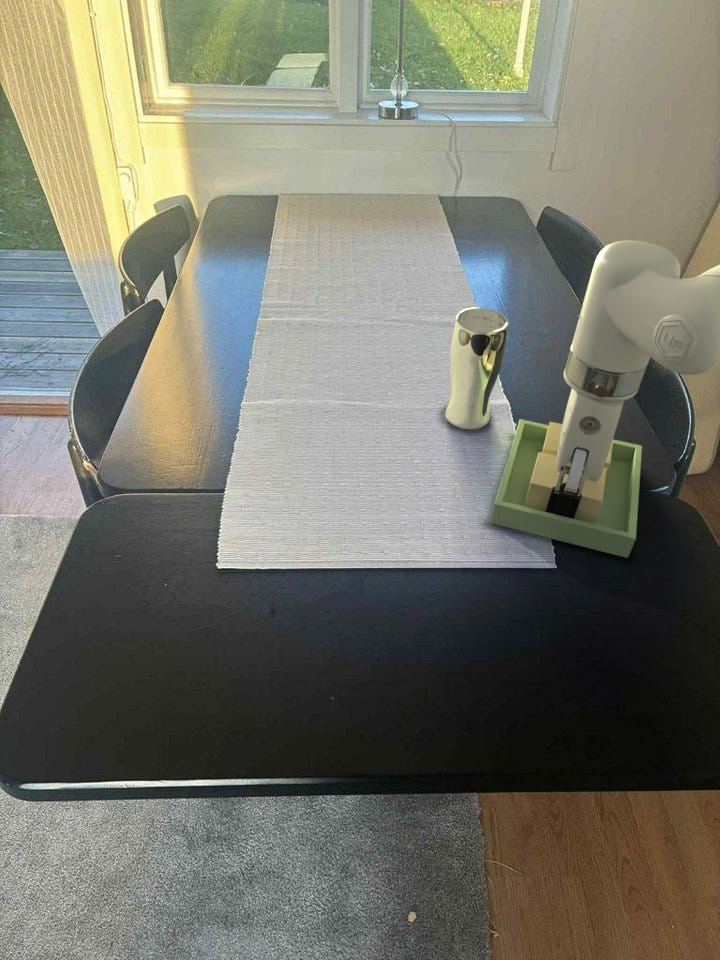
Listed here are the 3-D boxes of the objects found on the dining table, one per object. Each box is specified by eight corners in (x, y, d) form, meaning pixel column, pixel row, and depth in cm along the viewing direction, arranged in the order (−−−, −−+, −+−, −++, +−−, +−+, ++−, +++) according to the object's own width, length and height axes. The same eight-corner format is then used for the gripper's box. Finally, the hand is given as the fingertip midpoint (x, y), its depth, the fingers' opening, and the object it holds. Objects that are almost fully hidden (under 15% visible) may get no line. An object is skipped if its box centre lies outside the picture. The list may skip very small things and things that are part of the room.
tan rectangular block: (598, 493, 84) (607, 468, 82) (593, 526, 80) (602, 501, 77) (531, 476, 86) (538, 451, 83) (523, 508, 82) (530, 482, 79)
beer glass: (502, 417, 98) (521, 320, 88) (472, 438, 94) (488, 339, 84) (462, 396, 101) (476, 301, 91) (431, 416, 97) (443, 319, 88)
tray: (635, 464, 91) (642, 445, 89) (627, 558, 78) (636, 539, 76) (515, 437, 94) (519, 418, 92) (490, 523, 82) (494, 503, 80)
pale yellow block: (605, 459, 90) (614, 435, 88) (601, 488, 86) (610, 463, 83) (543, 445, 92) (549, 421, 90) (536, 473, 88) (543, 448, 85)
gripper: (638, 425, 64) (587, 557, 76) (646, 335, 76) (601, 462, 88) (555, 406, 65) (518, 539, 77) (576, 322, 78) (541, 447, 90)
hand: (563, 497), depth 83 cm, fingers closed on tan rectangular block, 6 cm apart
